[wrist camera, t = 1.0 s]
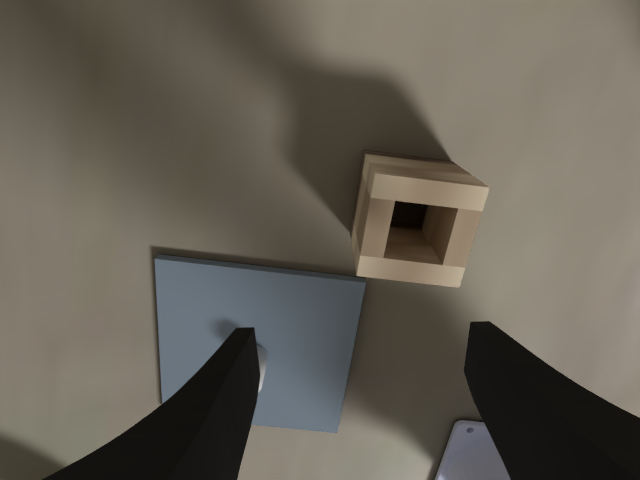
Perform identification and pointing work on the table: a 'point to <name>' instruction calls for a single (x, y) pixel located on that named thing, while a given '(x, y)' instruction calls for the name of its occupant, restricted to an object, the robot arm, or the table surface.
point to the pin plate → (262, 332)
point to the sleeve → (433, 225)
